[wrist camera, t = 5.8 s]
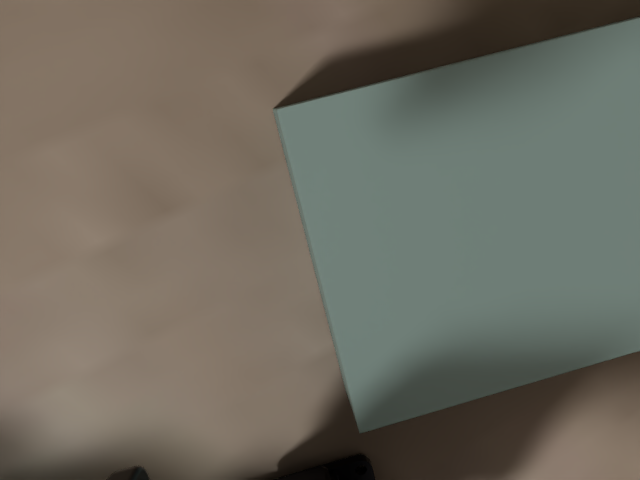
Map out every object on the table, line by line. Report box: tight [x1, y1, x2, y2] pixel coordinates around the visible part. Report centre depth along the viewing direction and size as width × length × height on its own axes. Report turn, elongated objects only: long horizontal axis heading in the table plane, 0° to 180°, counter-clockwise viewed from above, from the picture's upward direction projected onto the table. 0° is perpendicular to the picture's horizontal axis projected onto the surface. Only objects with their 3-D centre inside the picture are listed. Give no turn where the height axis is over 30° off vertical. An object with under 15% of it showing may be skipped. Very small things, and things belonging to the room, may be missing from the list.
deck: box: [273, 16, 640, 433], centre depth 19 cm, size 12×22×3 cm, turn 104°
